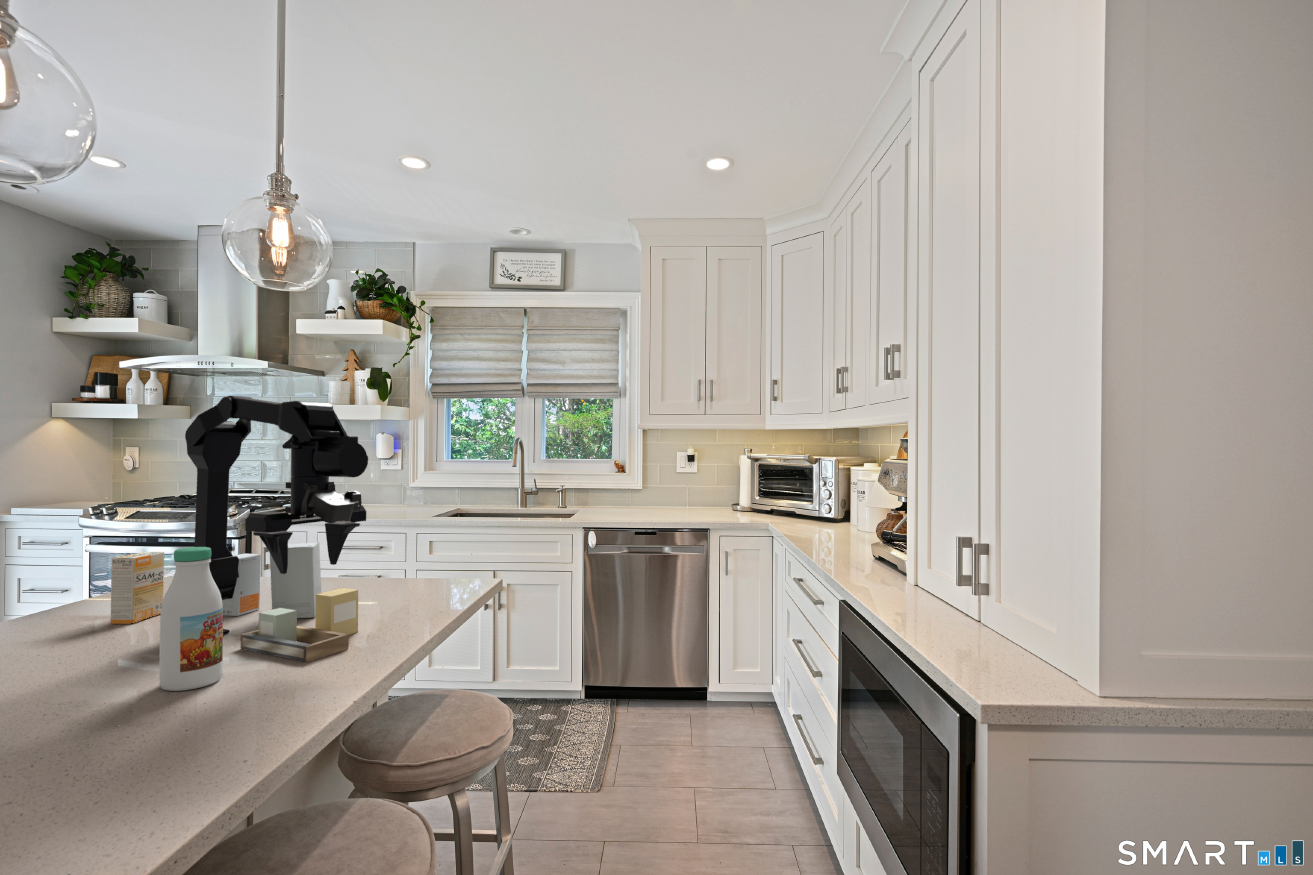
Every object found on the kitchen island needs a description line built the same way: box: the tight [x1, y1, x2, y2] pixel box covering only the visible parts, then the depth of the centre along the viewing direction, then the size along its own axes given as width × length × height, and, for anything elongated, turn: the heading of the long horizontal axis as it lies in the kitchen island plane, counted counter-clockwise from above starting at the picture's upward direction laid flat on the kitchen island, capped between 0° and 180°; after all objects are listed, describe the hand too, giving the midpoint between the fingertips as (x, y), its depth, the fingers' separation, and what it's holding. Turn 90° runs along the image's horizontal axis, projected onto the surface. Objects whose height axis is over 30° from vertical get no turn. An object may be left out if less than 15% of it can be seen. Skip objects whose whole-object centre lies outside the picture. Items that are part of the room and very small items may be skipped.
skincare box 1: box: [222, 553, 262, 617], centre depth 141 cm, size 6×4×12 cm
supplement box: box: [110, 551, 165, 625], centre depth 136 cm, size 8×5×13 cm, turn 179°
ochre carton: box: [315, 587, 359, 636], centre depth 125 cm, size 4×6×8 cm
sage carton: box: [258, 608, 298, 641], centre depth 118 cm, size 4×4×6 cm
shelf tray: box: [240, 625, 350, 663], centre depth 116 cm, size 17×8×2 cm, turn 65°
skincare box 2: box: [269, 541, 322, 619], centre depth 138 cm, size 8×6×15 cm
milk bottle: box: [158, 546, 224, 692], centre depth 100 cm, size 8×8×20 cm
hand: (309, 568), depth 112 cm, fingers open, 9 cm apart
